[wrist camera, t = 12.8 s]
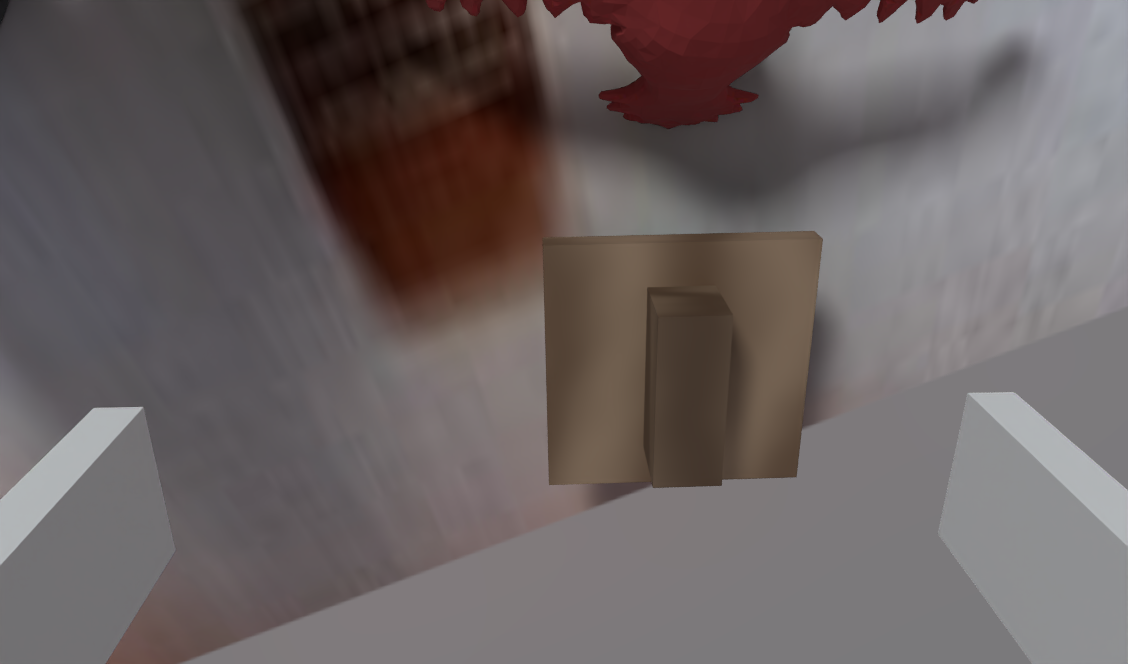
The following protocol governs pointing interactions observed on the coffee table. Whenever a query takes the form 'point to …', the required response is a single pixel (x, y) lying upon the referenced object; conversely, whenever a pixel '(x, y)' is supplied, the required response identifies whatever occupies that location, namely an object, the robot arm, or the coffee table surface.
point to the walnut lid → (677, 355)
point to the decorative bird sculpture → (700, 46)
